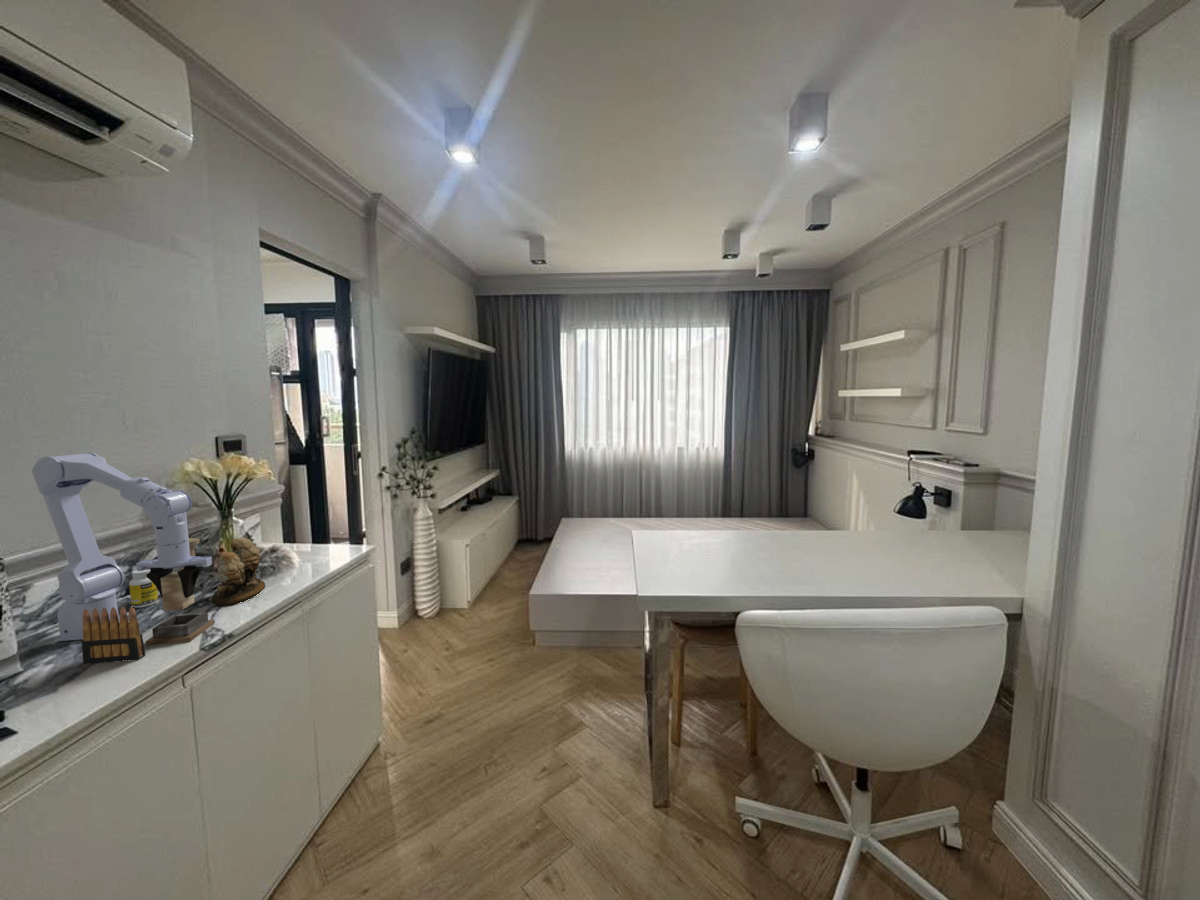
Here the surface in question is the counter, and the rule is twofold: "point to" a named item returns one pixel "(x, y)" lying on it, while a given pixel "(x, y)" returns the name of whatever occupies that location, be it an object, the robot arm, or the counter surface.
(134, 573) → the supplement bottle
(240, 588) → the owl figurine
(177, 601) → the square peg
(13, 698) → the counter surface
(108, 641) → the ammunition clip
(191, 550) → the handle
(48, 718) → the counter surface
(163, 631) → the socket
